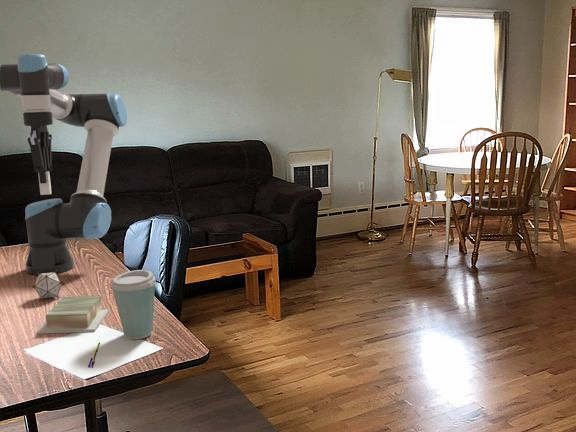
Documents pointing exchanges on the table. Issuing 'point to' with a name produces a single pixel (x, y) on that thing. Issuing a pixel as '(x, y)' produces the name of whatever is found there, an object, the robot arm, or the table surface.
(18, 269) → the table surface
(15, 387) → the table surface
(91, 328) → the mat
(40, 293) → the game die
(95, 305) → the wooden block
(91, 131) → the robot arm
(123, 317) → the disposable coffee cup
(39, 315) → the table surface
